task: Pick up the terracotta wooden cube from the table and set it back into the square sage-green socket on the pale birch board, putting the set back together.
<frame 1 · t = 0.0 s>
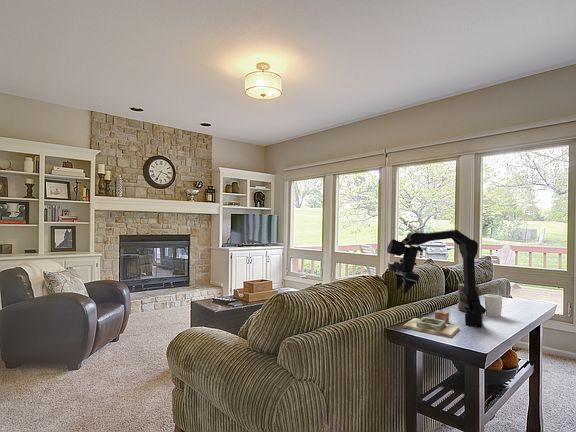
hand: (400, 291, 162), 15 cm above the table, tool pointing down, fingers open, 9 cm apart
terracotta cube: (441, 322, 167), on the table
white cup: (493, 315, 179), on the table
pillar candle: (468, 310, 188), on the table
socket board: (431, 328, 158), on the table
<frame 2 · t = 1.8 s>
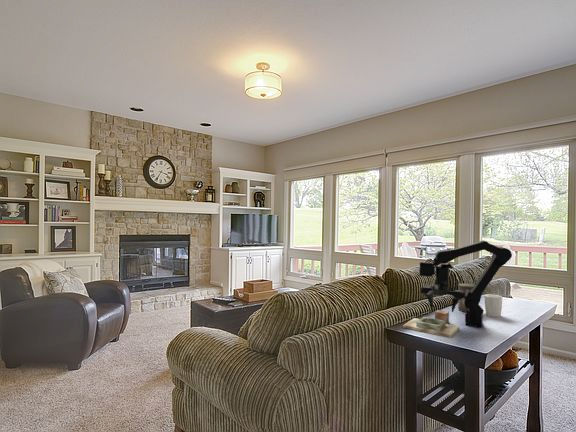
hand: (442, 310, 167), 6 cm above the table, tool pointing down, fingers open, 9 cm apart
nothing on the table moved.
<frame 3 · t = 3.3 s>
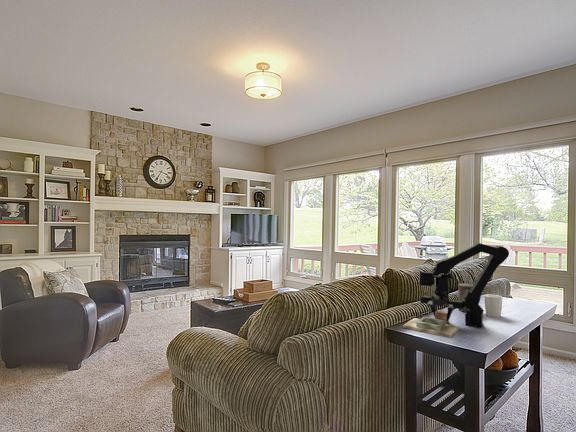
hand: (441, 319, 167), 1 cm above the table, tool pointing down, fingers closed on terracotta cube, 5 cm apart
terracotta cube: (441, 322, 167), on the table, touching gripper
everything else where it was.
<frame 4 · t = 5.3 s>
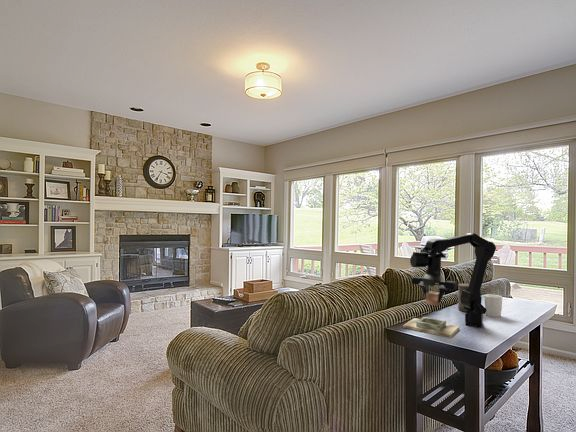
hand: (433, 301, 160), 11 cm above the table, tool pointing down, fingers closed on terracotta cube, 5 cm apart
terracotta cube: (433, 303, 160), point 10 cm above the table, touching gripper
everything else where it was.
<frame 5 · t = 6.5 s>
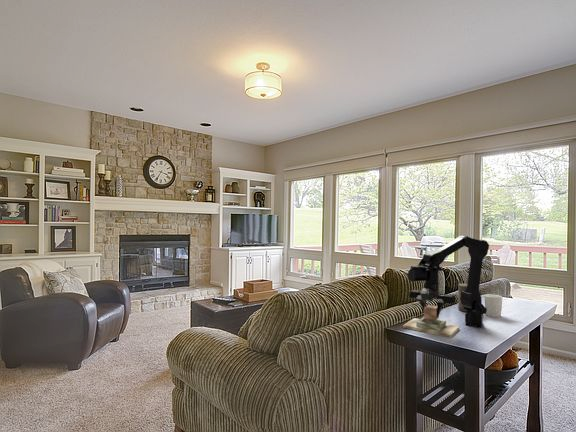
hand: (431, 315, 158), 6 cm above the table, tool pointing down, fingers closed on terracotta cube, 5 cm apart
terracotta cube: (431, 317, 158), point 5 cm above the table, touching gripper
everything else where it was.
when the fingers open (4 cm above the table, at t = 7.5 s): terracotta cube drops 2 cm, resting on socket board.
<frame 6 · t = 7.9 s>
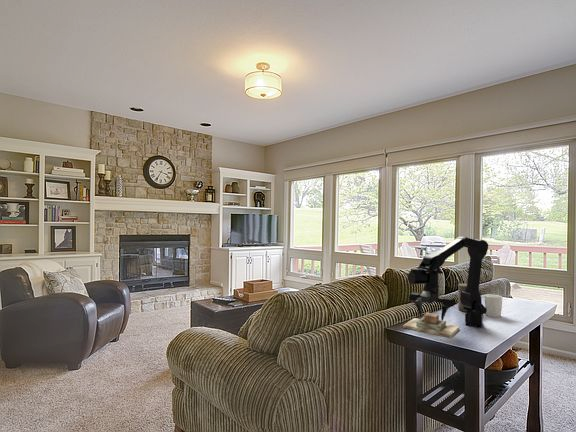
hand: (431, 318, 158), 4 cm above the table, tool pointing down, fingers open, 9 cm apart
terracotta cube: (431, 325, 158), point 1 cm above the table, touching socket board
everything else where it was.
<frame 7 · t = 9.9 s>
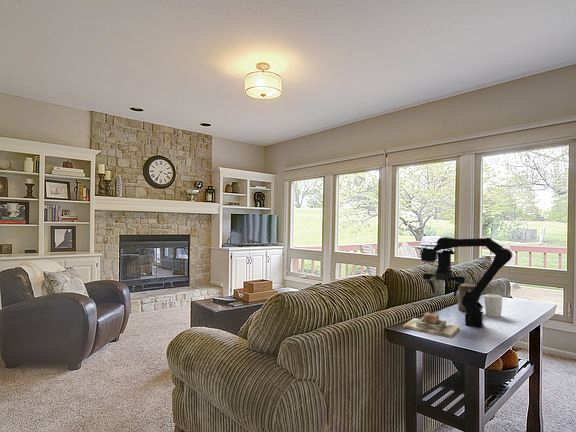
hand: (444, 295, 171), 12 cm above the table, tool pointing down, fingers open, 9 cm apart
nothing on the table moved.
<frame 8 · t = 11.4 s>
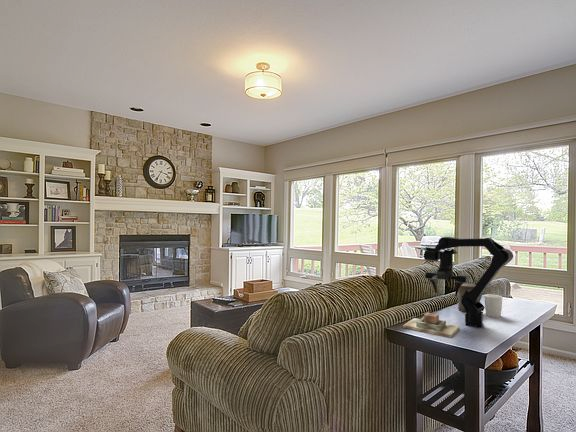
hand: (446, 294, 173), 12 cm above the table, tool pointing down, fingers open, 9 cm apart
nothing on the table moved.
at the end: terracotta cube 0.1 cm off-centre on the socket board, point 1.2 cm above the socket board's base; terracotta cube tilted 0°; the gripper is holding nothing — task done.
